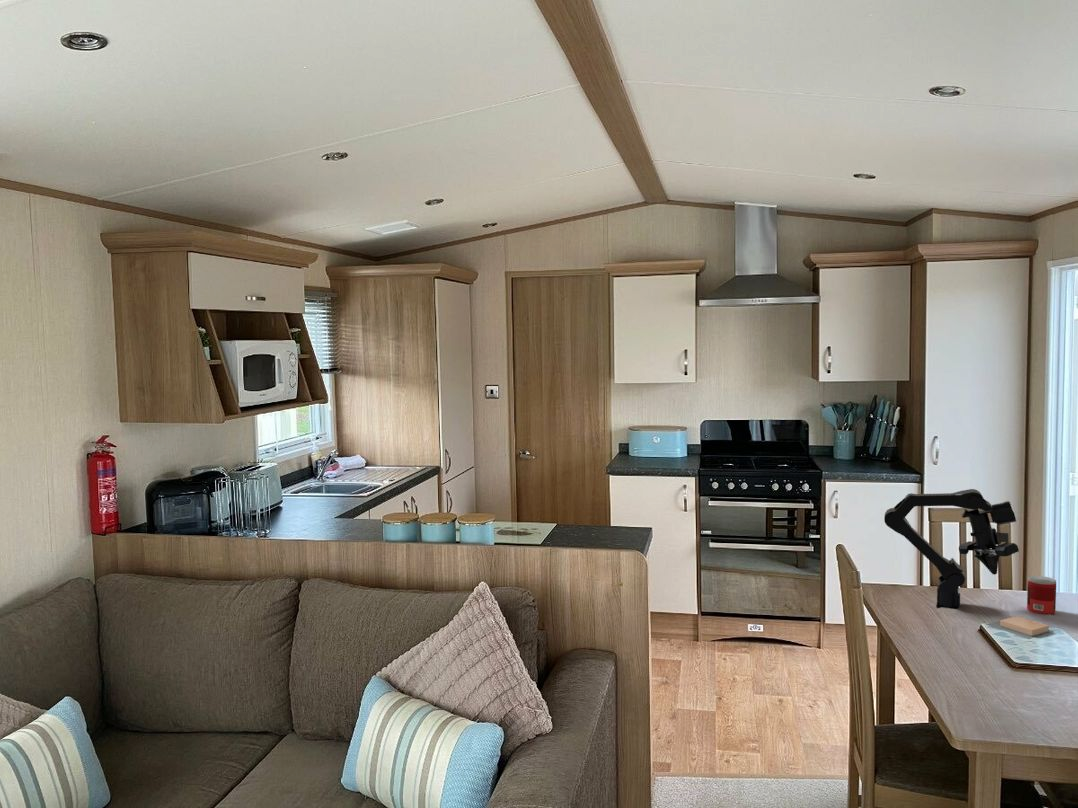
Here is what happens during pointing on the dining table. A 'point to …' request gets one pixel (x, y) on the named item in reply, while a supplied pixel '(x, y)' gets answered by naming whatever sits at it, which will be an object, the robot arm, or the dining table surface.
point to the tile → (1024, 626)
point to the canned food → (1041, 595)
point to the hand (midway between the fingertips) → (994, 574)
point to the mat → (997, 625)
